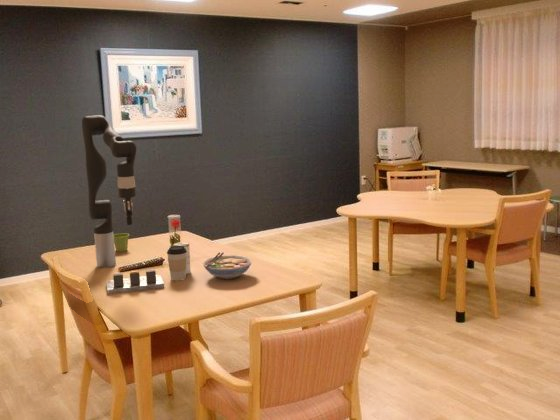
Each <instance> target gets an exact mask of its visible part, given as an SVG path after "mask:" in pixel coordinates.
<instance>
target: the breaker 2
mask: <svg viewBox="0 0 560 420" xmlns="http://www.w3.org/2000/svg"><path fill="white" fill-rule="evenodd" d="M156 275H157V272H156V269H148V270H145V276H146V281H147V283H151V282H156Z"/></svg>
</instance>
